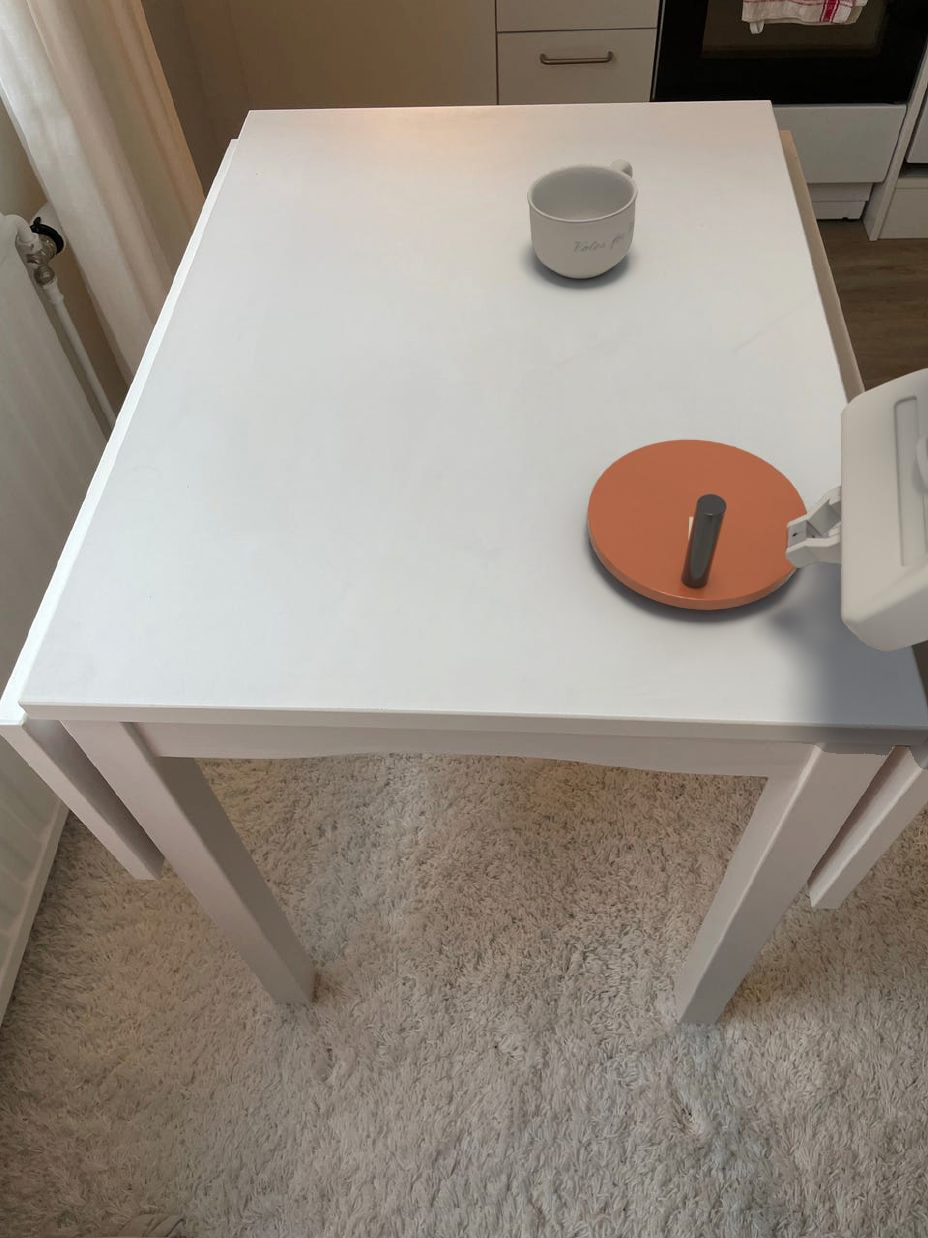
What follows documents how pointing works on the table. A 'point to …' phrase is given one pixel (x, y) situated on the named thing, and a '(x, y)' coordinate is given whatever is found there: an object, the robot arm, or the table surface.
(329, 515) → the table surface
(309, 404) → the table surface
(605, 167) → the teacup
